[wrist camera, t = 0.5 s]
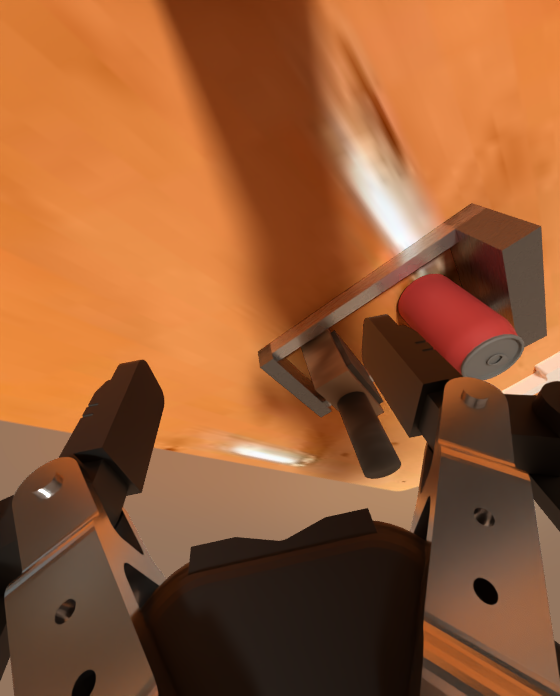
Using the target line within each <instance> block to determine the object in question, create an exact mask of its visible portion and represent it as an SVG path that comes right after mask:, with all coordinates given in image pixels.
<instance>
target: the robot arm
mask: <svg viewBox="0 0 560 696" xmlns="http://www.w3.org/2000/svg"><path fill="white" fill-rule="evenodd" d="M362 359H363V363H364V365H365V367H366V369H367V371H368V372H369V374H370V375H371V377H372V379H373V380H374V382H375V384H376V385H377V387H378V388H379V390H380V392H381V393H382V395H383V396H384V398H385V400H386V401H387V403H388V404H389V406H390V408H391V409H392V411H393V412H394V414H395V416H396V417H397V419H398V420H399V422H400V424H401V425H402V427H403V428H404V430H405V432H406V433H407V435H408V436H409V438H411V437H415V436H420V435H423V437H424V438H425V440H426V441H427V443H426V446H425V452H424V458H423V465H422V471H421V478H420V484H419V491H418V498H417V503H416V507H415V511H414V515H413V520H412V525H411V530H410V531H408V530H405V529H403V528H401V527H398V526H395V525H392V524H388V523H384V522H380V521H373V520H372V518H371V515H370V513H369V510H368V508H367V509H361V510H357V511H352V512H348V513H344V514H339V515H334V516H330V517H326V518H323V519H322V520H320V521H318V522H316V523H315V524H313V525H311V526H309V527H307V528H305V529H304V530H302V531H300V532H298V533H297V534H295V535H293V536H291V537H290V538H288V539H285V540H282V541H274V540H262V539H250V538H239V537H234V538H230V539H225V540H220V541H216V542H211V543H207V544H202V545H198V546H193V547H191V553H190V562H189V563H187V564H185V565H184V566H183V567H181V568H180V569H178V570H177V571H175V572H174V573H173V574H172V575H171V576H169V577H168V578H167V579H166V578H165V576H164V575H163V573H162V572H161V571H160V570H159V568H158V567H157V566H156V564H155V563H154V561H153V560H152V558H151V557H150V555H149V553H148V551H147V549H146V547H145V545H144V544H143V541H142V540H141V537H140V535H139V533H138V532H137V530H136V528H135V526H134V524H133V522H132V520H131V518H130V516H129V514H128V512H127V511H126V509H125V508H124V507H123V504H124V501H125V498H126V496H128V495H133V494H138V493H141V492H142V489H143V485H144V481H145V478H146V473H147V470H148V466H149V462H150V458H151V454H152V451H153V447H154V443H155V439H156V435H157V431H158V428H159V424H160V420H161V416H162V412H163V408H164V395H163V392H162V389H161V387H160V386H159V384H158V382H157V380H156V378H155V376H154V374H153V373H152V371H151V369H150V367H149V365H148V364H147V362H146V361H145V360H138V361H132V362H127V363H122V364H119V365H118V367H117V369H116V371H115V373H114V375H113V377H112V379H111V380H108V381H106V382H105V383H104V384H103V385H102V386H101V387H100V388H99V389H98V390H97V391H96V392H95V394H94V395H93V397H92V399H91V401H90V403H89V404H88V406H89V407H87V408H86V410H85V412H84V413H83V415H82V416H83V418H81V419H80V421H79V422H78V424H77V426H76V428H75V429H74V431H73V433H72V435H71V437H70V438H69V440H68V442H67V444H66V446H65V447H64V449H63V451H62V453H61V455H60V456H59V458H57V459H54V460H51V461H49V462H47V463H45V464H44V465H42V466H40V467H39V468H37V469H36V470H35V471H34V472H32V473H31V474H30V475H29V476H28V477H27V478H26V479H25V480H24V481H23V482H22V484H21V485H20V486H19V487H18V489H17V490H16V492H15V494H14V495H12V496H10V497H8V498H6V499H4V500H1V501H0V680H1V678H2V675H3V673H4V670H5V668H6V665H7V663H8V660H9V658H10V660H11V670H12V678H13V689H14V696H560V644H558V643H557V642H556V641H554V637H553V630H552V623H551V616H550V610H549V603H548V596H547V589H546V582H545V575H544V568H543V561H542V554H541V548H540V541H539V534H538V527H537V520H536V513H535V506H534V500H535V501H536V503H537V504H538V505H539V506H540V508H541V509H542V510H543V511H544V513H545V514H546V515H547V516H548V518H549V519H550V520H551V521H552V522H553V524H554V525H555V526H556V528H557V529H558V530H559V531H560V381H553V382H549V383H546V384H545V385H544V386H543V387H542V388H541V390H540V392H539V393H538V395H537V396H536V395H517V394H503V393H502V392H501V391H500V390H499V389H498V388H497V387H495V386H494V385H492V384H490V383H488V382H486V381H483V380H480V379H476V378H471V377H463V376H462V375H461V374H460V373H459V372H458V371H457V370H456V369H455V368H454V367H453V366H452V365H451V364H450V363H449V362H448V361H447V360H446V359H445V358H444V357H443V356H441V355H440V354H439V353H438V352H437V351H436V350H434V349H433V347H432V346H431V345H430V344H429V343H428V342H426V340H425V339H424V338H423V337H422V336H421V335H420V334H419V333H418V332H417V331H415V330H413V329H411V328H409V327H407V326H405V325H400V326H398V325H397V324H396V323H395V322H394V321H393V319H392V318H391V317H390V316H389V315H387V314H385V315H380V316H374V317H369V318H366V319H365V320H364V324H363V339H362Z"/></svg>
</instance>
